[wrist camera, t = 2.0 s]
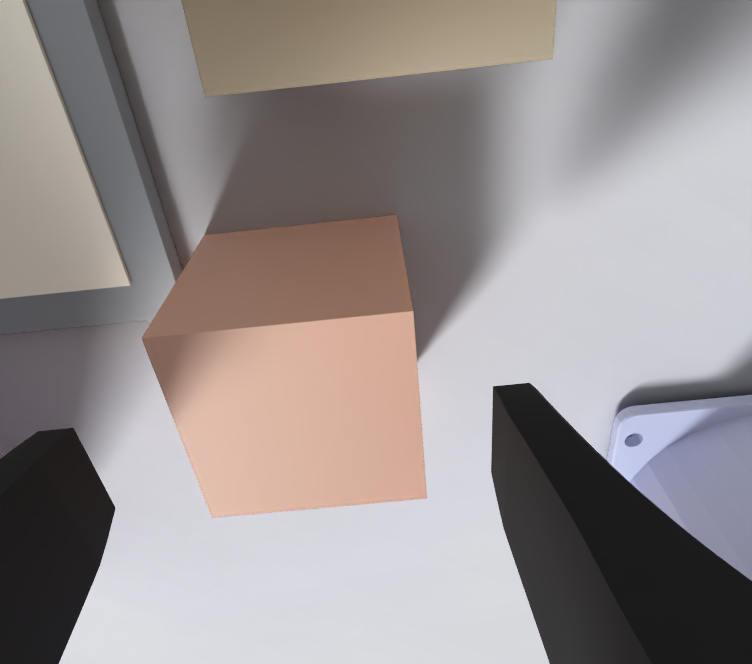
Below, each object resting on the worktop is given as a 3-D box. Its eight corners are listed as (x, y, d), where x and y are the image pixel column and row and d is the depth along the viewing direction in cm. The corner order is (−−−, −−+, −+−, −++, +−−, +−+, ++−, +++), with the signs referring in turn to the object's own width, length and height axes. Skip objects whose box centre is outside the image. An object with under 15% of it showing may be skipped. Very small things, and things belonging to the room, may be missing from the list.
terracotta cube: (409, 369, 15) (426, 498, 11) (247, 384, 15) (211, 517, 11) (396, 213, 13) (413, 311, 9) (205, 233, 13) (141, 338, 9)
